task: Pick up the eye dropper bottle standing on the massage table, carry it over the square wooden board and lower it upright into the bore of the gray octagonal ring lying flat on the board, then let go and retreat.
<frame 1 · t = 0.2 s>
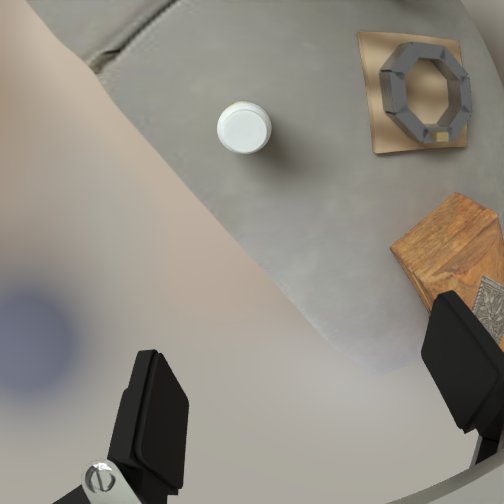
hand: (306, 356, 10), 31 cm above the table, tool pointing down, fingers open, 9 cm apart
supplement bottle: (242, 122, 35), on the table
gray octagonal ring: (418, 91, 33), resting on square wooden board
square wooden board: (418, 91, 33), on the table
wooden box: (448, 275, 48), on the table
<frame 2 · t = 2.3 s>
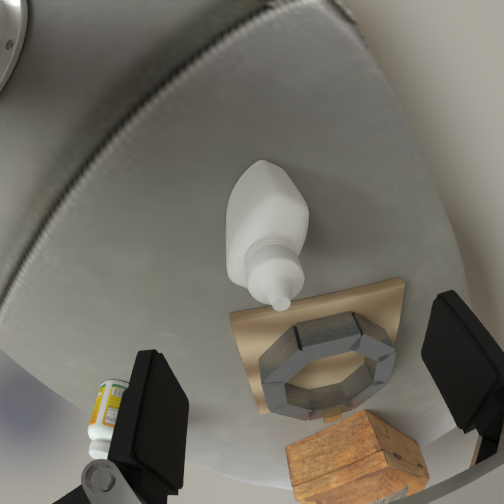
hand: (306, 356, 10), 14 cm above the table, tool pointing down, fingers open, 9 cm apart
supplement bottle: (121, 390, 33), on the table
gray octagonal ring: (322, 353, 31), resting on square wooden board
square wooden board: (322, 353, 31), on the table
wooden box: (359, 445, 47), on the table
eye dropper bottle: (254, 195, 22), on the table
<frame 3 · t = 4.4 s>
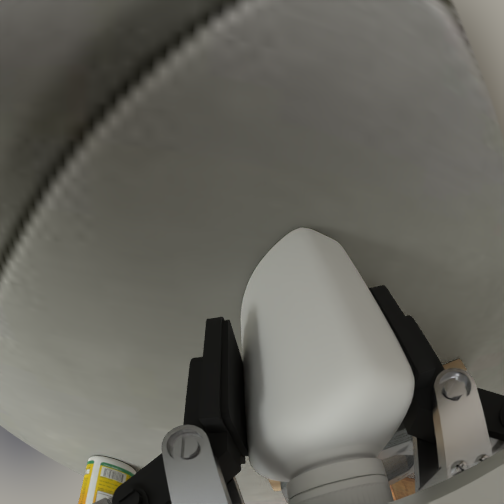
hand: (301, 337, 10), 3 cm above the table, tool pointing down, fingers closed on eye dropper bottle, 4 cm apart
supplement bottle: (112, 463, 24), on the table
gray octagonal ring: (353, 439, 22), resting on square wooden board
wooden box: (374, 495, 37), on the table
eye dropper bottle: (287, 280, 14), on the table, touching gripper
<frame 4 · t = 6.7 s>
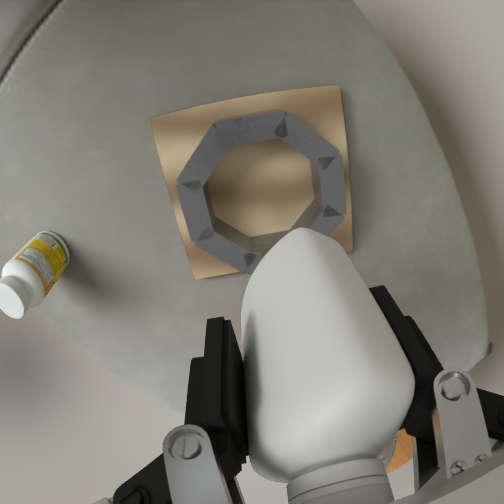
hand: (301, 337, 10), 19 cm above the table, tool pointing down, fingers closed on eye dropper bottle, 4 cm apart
supplement bottle: (52, 250, 30), on the table
gray octagonal ring: (260, 183, 28), resting on square wooden board
square wooden board: (260, 183, 28), on the table
wooden box: (334, 381, 43), on the table
eye dropper bottle: (287, 280, 14), point 16 cm above the table, touching gripper
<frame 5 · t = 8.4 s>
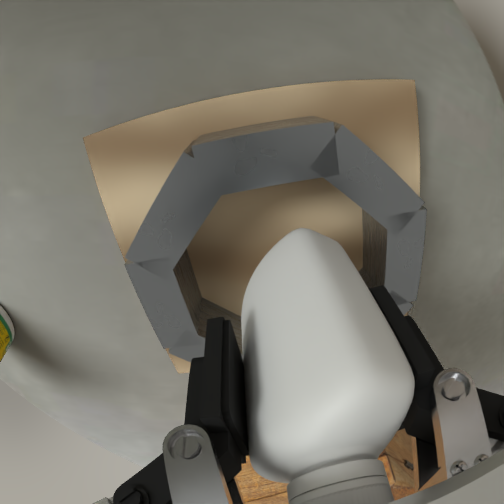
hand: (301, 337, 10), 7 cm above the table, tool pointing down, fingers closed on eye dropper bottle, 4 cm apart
gray octagonal ring: (276, 242, 17), resting on square wooden board
square wooden board: (276, 242, 17), on the table
wooden box: (350, 448, 32), on the table
eye dropper bottle: (287, 281, 14), point 4 cm above the table, touching gripper
when the fingers open (6 cm above the table, at t = 9.3 s): eye dropper bottle drops 1 cm, resting on square wooden board.
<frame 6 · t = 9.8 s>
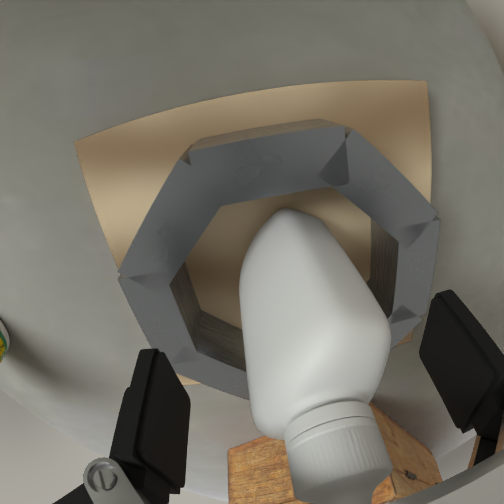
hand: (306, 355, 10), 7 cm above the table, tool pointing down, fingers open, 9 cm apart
gray octagonal ring: (279, 252, 16), resting on square wooden board
square wooden board: (279, 252, 16), on the table
wooden box: (350, 455, 31), on the table
eye dropper bottle: (278, 259, 15), point 1 cm above the table, touching square wooden board
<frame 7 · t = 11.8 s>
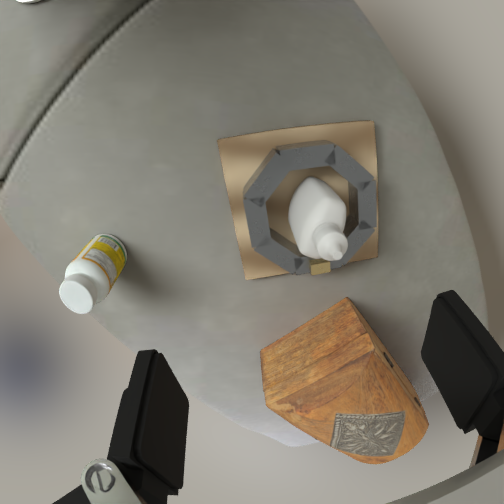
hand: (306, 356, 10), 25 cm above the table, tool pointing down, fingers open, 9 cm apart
supplement bottle: (108, 251, 35), on the table
gray octagonal ring: (306, 199, 33), resting on square wooden board
square wooden board: (306, 199, 33), on the table
wooden box: (346, 372, 47), on the table
eye dropper bottle: (306, 201, 32), point 1 cm above the table, touching square wooden board
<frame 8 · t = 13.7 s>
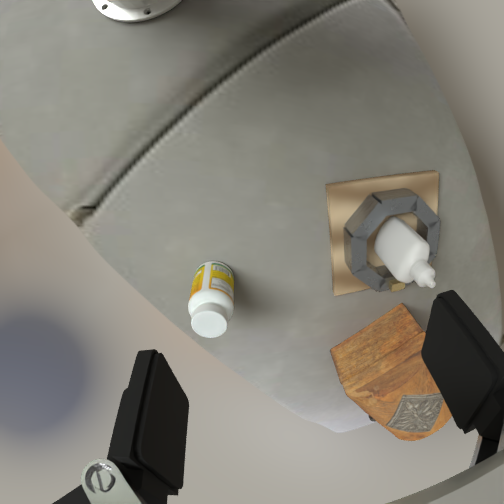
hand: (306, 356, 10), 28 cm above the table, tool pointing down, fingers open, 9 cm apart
supplement bottle: (213, 276, 42), on the table
gray octagonal ring: (385, 232, 40), resting on square wooden board
square wooden board: (385, 232, 40), on the table
wooden box: (392, 363, 54), on the table
eye dropper bottle: (387, 234, 39), point 1 cm above the table, touching square wooden board
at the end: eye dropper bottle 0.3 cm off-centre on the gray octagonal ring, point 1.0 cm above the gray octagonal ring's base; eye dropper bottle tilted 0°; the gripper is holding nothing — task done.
